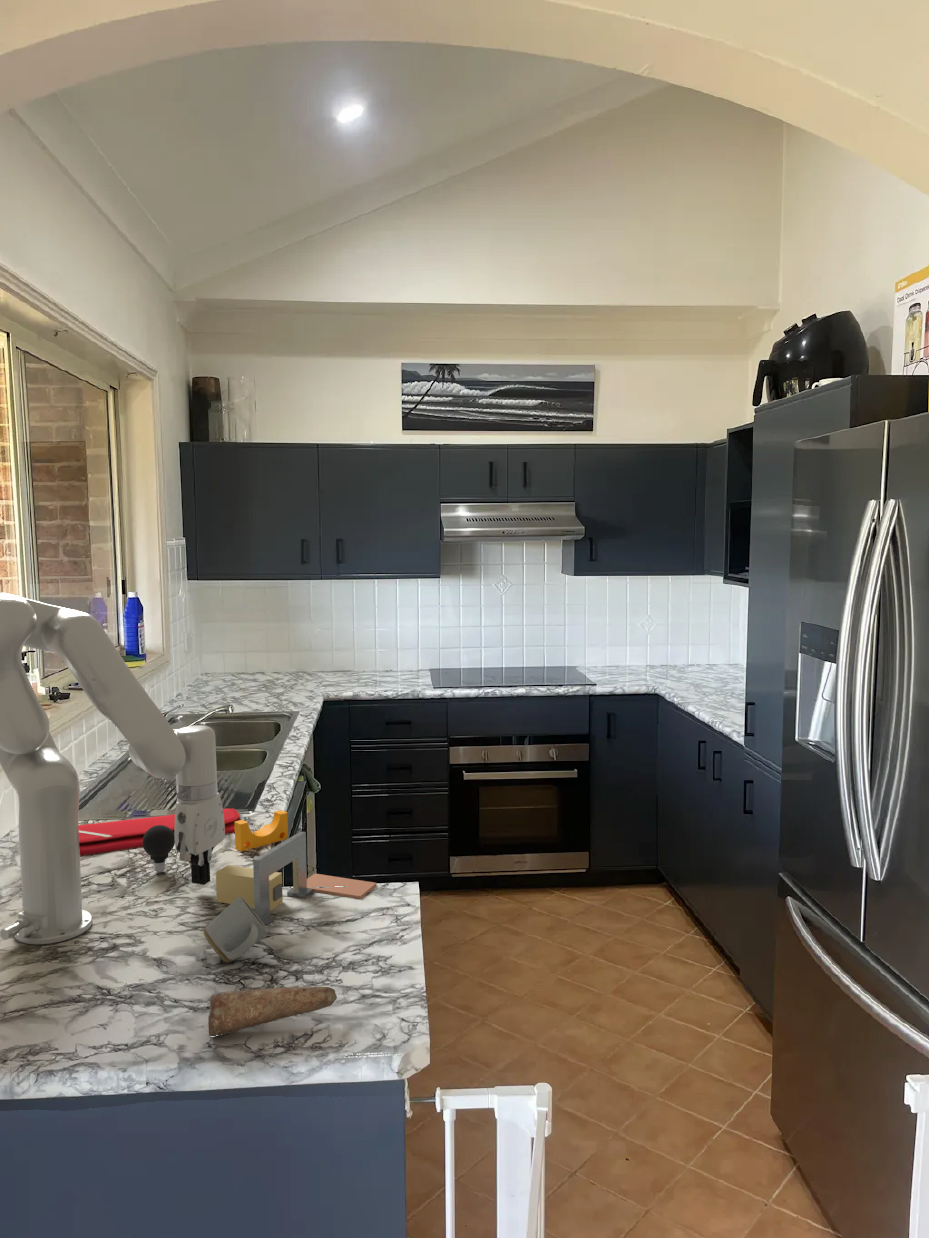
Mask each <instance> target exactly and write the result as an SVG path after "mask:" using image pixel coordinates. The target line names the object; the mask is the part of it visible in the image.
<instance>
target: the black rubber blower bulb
mask: <svg viewBox="0 0 929 1238" xmlns="http://www.w3.org/2000/svg"><path fill="white" fill-rule="evenodd" d="M142 844H143V850H144V851H145V853H146V854H147V855H149V857H150V860H152V861H153V863H154V864H153V867H154V872H156V873H159V874H161V873H162V872H165V871H166V859H168V858H169V853H171V852H172V850H173V848H175V835H174V833H173V831H172V830H171V829H170V828H168V827H167V826H164V825H156V826H153V827H151V828H150V829H149V830H147V832H146V833H145V835H144V837H143V841H142Z"/></svg>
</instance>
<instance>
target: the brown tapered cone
mask: <svg viewBox="0 0 929 1238" xmlns="http://www.w3.org/2000/svg"><path fill="white" fill-rule="evenodd" d="M337 998H338V996H337V994H336V990H335V988H333V987H330V986H308V987H307V986H303V987H299V986H298V987H274V988H273V987H272V988H257V989H255V988H253V989H243V990H230V991H223V992H219V993H215V994H212V995H211V996H210V1001H209V1014H208V1021H207V1022H208V1024H207V1025H208V1036H209V1037H210V1036H216V1035H221V1034H224V1035H226V1034H229V1032H230V1033H232V1032H237V1031H240V1030H243V1029H244V1030H245V1029H247V1028H253V1027H255V1026H260V1025H262V1024H263V1025H264V1024H267V1023H272V1022H275V1021H277V1020H281V1019H285V1018H290V1017H293V1016H296V1015H303V1014H307V1013H312V1012H317V1011H319V1010H321V1009H324V1008H329V1007H330V1006H332V1005H333V1004H335V1003H334V1002H335V1001H336V1000H337ZM225 1033H226V1034H225ZM221 1036H222V1035H221Z"/></svg>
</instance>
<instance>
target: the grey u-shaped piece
mask: <svg viewBox="0 0 929 1238" xmlns="http://www.w3.org/2000/svg"><path fill="white" fill-rule="evenodd" d="M290 863H292V884H293V885H292V886H293V887H292V888H291V889H290V890H288V891H286V895H287V897H294V898H300V899H303V900H304V899H306V898H309V896H311V895H312V894H314V892H313V889H310V888H307V879H308V877H307V876H308V875H307V873H308V872H307V870H308V869H307V833H306V831H299V832H297V833H296V834H294V835H292V836H290V837H288V839H285V840H283V841H282V842H280V843H279V844H277V845H276V846H274V847H272V848H270V849H268V850H267V851H265V852H263V853H262V854H260V855H258V856H256V857H255V858H253V859H252V864H253V865H252V866H253V867H252V868H253V873H254V908H253V909H254V910H253V911H254V912H255V913H256V915H257V916H258V917H259V918H260V920H261V921H262V922H263V924H264V925H265V927H266V926H268V927H269V926H271V923H272V924H273V923H275V922H276V921H277V920H276V919H277V915H275V914H270V913H271V911H270V901H269V876H270V875H272V874H273V873H275V872H278V871H279V870H281V869H283V868H284V867H285V866H287V865H289V864H290ZM275 920H276V921H275Z"/></svg>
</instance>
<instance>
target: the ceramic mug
mask: <svg viewBox="0 0 929 1238" xmlns="http://www.w3.org/2000/svg"><path fill="white" fill-rule="evenodd" d="M268 933H269V930H268V928H267V927H266V926H265V925H264V924H263V922H262V921H261V920H260V918H259V917H258V916H257V915H256V913H255V911H254V910H253V908H252V907H250V906H249V905H248V904H247V903H246V901H245V900H244V899H243V898H242V897H240V896H239V897H238V898H237V899H235V900H234V901H233V902H232V903H231V904H229V905H227V907H226V908H225V909H223V911H221V912H220V913H219V914H218V915H217V916H216V917H215V918H213V919H212V920H211V921H210V922H209V923H208V925H207V926H206V927H205V928H204V930H203V935H204V937H205V940H206V941H207V942H208V944H209V945H210V947H211V948H212V949H213V950H214V952H215V953H216V954H217V956H219V957H220V959H222V960H223V961H224V962H225V963H231V962H233V961H235V960H236V959H238V958H240V957H242V956H244V955H245V954H246V953H247V952H248V951H250V949H251V948H252V947H253V946H254V945H255V944H257V943H258V942H259V941H261V940H262V939H263V938H264V937H265V936H267V935H268Z"/></svg>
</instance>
